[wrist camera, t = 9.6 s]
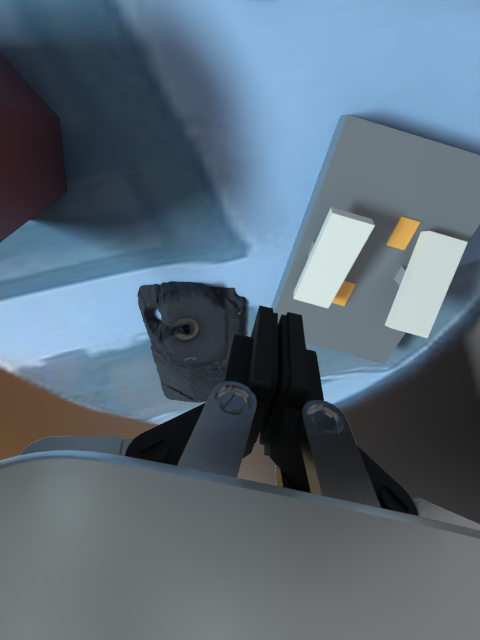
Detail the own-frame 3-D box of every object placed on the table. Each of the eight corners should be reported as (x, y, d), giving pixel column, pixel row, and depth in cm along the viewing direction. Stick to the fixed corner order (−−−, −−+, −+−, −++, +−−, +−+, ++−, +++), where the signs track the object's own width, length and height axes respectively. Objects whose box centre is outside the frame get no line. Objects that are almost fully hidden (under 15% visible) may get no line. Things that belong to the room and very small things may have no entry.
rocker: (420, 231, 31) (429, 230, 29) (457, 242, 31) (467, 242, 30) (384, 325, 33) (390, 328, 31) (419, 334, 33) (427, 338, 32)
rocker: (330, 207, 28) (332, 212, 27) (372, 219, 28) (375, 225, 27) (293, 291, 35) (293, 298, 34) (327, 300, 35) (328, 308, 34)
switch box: (340, 115, 30) (352, 113, 25) (492, 162, 31) (531, 169, 26) (268, 315, 43) (266, 339, 38) (376, 345, 44) (387, 372, 39)
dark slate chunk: (157, 390, 54) (147, 411, 50) (137, 275, 42) (122, 291, 38) (243, 398, 53) (240, 420, 49) (248, 283, 41) (244, 300, 37)
